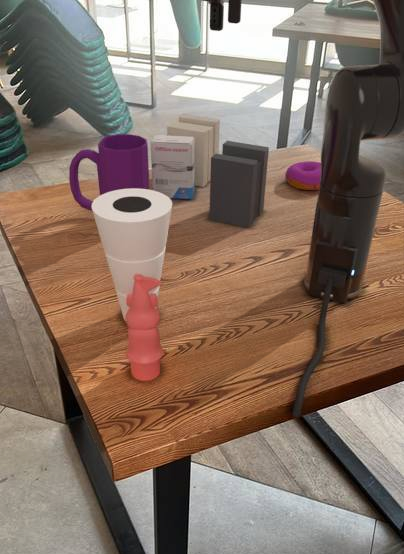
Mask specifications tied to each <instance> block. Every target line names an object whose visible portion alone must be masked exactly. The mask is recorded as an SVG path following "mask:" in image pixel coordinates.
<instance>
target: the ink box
mask: <svg viewBox="0 0 404 554" xmlns="http://www.w3.org/2000/svg"><path fill="white" fill-rule="evenodd" d="M150 159H151V160H150V161H151V162H150V163H151V183H152V184H151V185H152V190H153V191H157V192H160V193H162V194H164V195H166V196H167V197H169V198H170V199H177V200H193V198H194V194H195V185H194V137H186V136H167V135H166V134H165V135H163V134H155V135H154V136H153V137H152V138H151V141H150Z"/></svg>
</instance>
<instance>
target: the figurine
mask: <svg viewBox="0 0 404 554" xmlns="http://www.w3.org/2000/svg"><path fill="white" fill-rule="evenodd" d="M133 279H134V280H135V281H134V285H133V293H130V294H128V295H127V298H126V304H127V306H128V307H129V308H130V309H129V310H128V311H127V313H126V316H125V320H126V321H125V320H124V321H125V323H126V325H127V327H128V329H127V341H128V345H127V347H126V350H125V356H126V358H127V359H128V360H129V361H130V373H131V376H132V378H134V379H136V380H138V381H142V382H148V381H152V380H154V379H156V378H158V376H159V375H160V373H161V359H162V357H163V355H164V348H163V346H162V345H161V340H160V339H161V338H160V332H159V329H158V326H159V324H160V321H161V313H160V311H159V310H158V309H157V307H158V305H159V299H158V298H159V297H158V298H157V295H156V294H154V293H152V294H149V293H148V292H149V291H150V290H152V289H154V288H156V287H157V286H160V287H161V286H163V284H164V283H163V282H162V281H161V280H160V281H159V280H157V279H155V278H151V277H145V276H143V275H141V274H135V275H134V278H133ZM155 307H156V308H155Z"/></svg>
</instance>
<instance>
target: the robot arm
mask: <svg viewBox="0 0 404 554" xmlns="http://www.w3.org/2000/svg"><path fill="white" fill-rule="evenodd" d="M203 1H204V2H207V3H208V5H209V29H210V30H211V31H213V32H214V31H215V32H220V31H223V29H224V18H225V17H224V11H225V10H224V9H225V5H224V4H225V1H226V0H203ZM242 2H243V1H242V0H228V3H227V4H228V5H227V6H228V7H227V22H228V23H229V24H236V25H237V24H239V23H241V20H242V19H241V17H242ZM372 3H373V5H374V7H375V11H376V15H377V20H378V23H379V32H380V34H379V36H380V49H379V51H380V52H379V64H363V65H362V64H361V65H347V66H344V67H341V68H339V69H338V70H337V71H336V73H335V74H334V75H333V77H332V79H331V81H330V84H329V87H328V90H327V94H326V95H327V96H326V102H325V108H324V118H323V119H324V121H323V130H322V131H323V132H322V141H321V142H322V143H321V149H320V163H321V178H320V185H319V189H318V191H317V199H316V203H315V210H314V217H313V224H312V231H311V239H310V245H309V251H308V258H307V266H306V270H305V271H306V272H305V275H304V281H303V283H304V287H305V288H306V290H307V296H311V297H316V298H320V299H322V302H321V306H320V312H319V317H318V326H317V337H318V343H317V347H316V351H315V353H314V355H313V357H312V358H311V361H310V362H309V363H308V365H307V366H306V368H305V369H304V371H303V373H302V376H301V378H300V381H299V383H298V387H297V390H296V395H295V399H294V403H293V404H294V405H293V408H292V412H291V415H292V416H293V417H294V418H299V417H300V416H301V413H302V407H303V403H304V399H305V393H306V389H307V386H308V383H309V380H310V378H311V376H312V374H313V373H314V371H315V369H316V368H317V366H318V364H319V363H320V361H321V359H322V357H323V355H324V352H325V348H326V322H327V321H326V320H327V314H328V310H329V309H328V308H329V304H330V301H332V302H336V303H341V304H346V303H347V301H349V300H352V299H355V298H356V297H358V296H359V295H361V293H362V290H363V286H364V278H365V274H366V268H367V265H368V261H369V255H370V252H371V251H370V250H371V248H372V247H371V246H372V242H373V237H374V233H375V229H376V223H377V220H378V215H379V211H380V206H381V202H382V198H383V193H384V189H385V184H386V182H387V181H386V180H387V171H386V169H385V167H384V166H383V165H382V164H380V163H379V162H377V161H375V160H374V159H371V158H369V157H366V156H362V155H360V149H361V147H360V146H361V141H371V140H383V139H391V138H398V137H399V136H401V135H403V134H404V0H372Z"/></svg>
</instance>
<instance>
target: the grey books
mask: <svg viewBox="0 0 404 554" xmlns="http://www.w3.org/2000/svg"><path fill="white" fill-rule="evenodd" d="M221 149H222V152H221V153H219V154H215V155H213V156H212V157H211V176H210V181H209V215H208V216H209V218H208V220H209V221H214V222H219V223H224V224H227V225H233V226H238V227H243V228H247V229H249V228H250V227H252V225H253V224H254V222H255V220H256V219H257V218H258V216H259V217H260V216H261V214H263V212H264V208H265V196H266V185H267V174H268V173H267V172H268V163H269V150H270V147H269V146H263V145H259V144H258V145H257V144H251V143H246V142H245V143H244V142H240V141H239V142H238V141H234V140H233V141H232V140H226V141H225V142H224V143H222V148H221Z"/></svg>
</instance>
